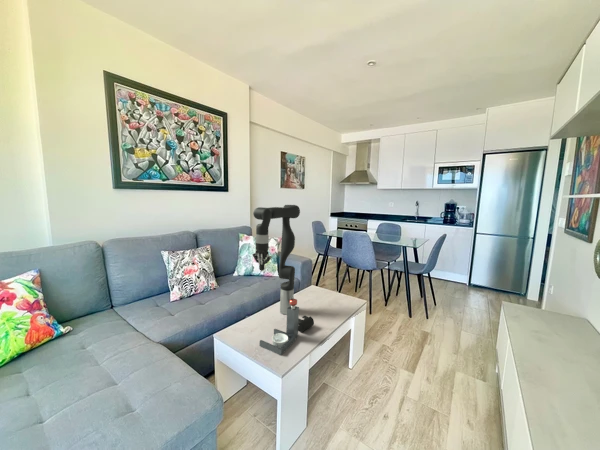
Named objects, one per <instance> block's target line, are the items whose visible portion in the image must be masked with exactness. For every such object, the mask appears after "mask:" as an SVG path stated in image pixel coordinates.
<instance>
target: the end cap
mask: <svg viewBox="0 0 600 450" xmlns="http://www.w3.org/2000/svg"><path fill="white" fill-rule="evenodd" d="M301 318H302V319H301ZM301 318H299V322H298V333H299V332H300V333H302V332H304V331H306V330H308V329H309V328H311V327H312V326H314V324H315V320H314V318H313V317H312V316H309V317H308V316H307V315H303V316H301Z"/></svg>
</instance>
